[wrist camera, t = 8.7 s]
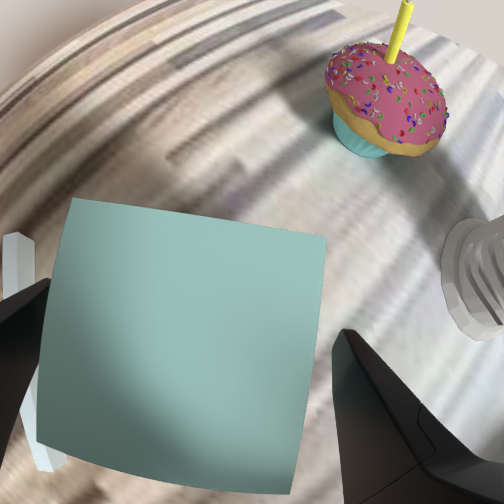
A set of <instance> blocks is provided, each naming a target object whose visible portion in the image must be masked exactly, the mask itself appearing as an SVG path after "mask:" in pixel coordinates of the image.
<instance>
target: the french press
mask: <svg viewBox="0 0 504 504" xmlns="http://www.w3.org/2000/svg"><path fill="white" fill-rule="evenodd" d="M441 285H442V288H443V292H444V296H445V300H446V303H447V307H448V311H449V313H450V314H451V316H452V317H453V319H454V321H455V322H456V324H457V326H458V327H459V329H460V331H462V332H463V333H465V334H466V335H468V336H469V337H471V338H472V339H473V340H475V341H491V340H493V339H494V338H495V337H497V336H498V335H499V334H501V333H502V332H504V215H502V216H500V217H498V218H496V219H494V220H492V221H490V222H487V221H484V220H481V219H477V218H474V217H471V218H468V219H465V220H462V221H459V222H458V223H457V224H456V225H455V227H454V228H453V229H452V230H451V232H450V233H449V234H448V235H447V239H446V242H445V246H444V249H443V253H442V256H441Z"/></svg>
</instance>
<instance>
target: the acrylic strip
mask: <svg viewBox="0 0 504 504" xmlns="http://www.w3.org/2000/svg"><path fill="white" fill-rule="evenodd" d="M2 270H3V300H4V299H6V298H8V297H10V296H11V295H13V294H15V293H17V292H19V291H21V290H23V289H25V288H27V287H29V286H31V285H33V284H35V283H36V280H35V242H34V241H33V240H31V239H29V238H27V237H26V236H24V235H22V234H21V233H19V232H14V233H10V234H6V235H3V260H2ZM38 369H39V364H38V366H37V368H36V371H35V373H34V375H33V378H32V380H31V382H30V385H29V387H28V390H27V392H26V395H25V397H24V400H23V402H22V405H21V408H20V414H21V417H22V421H23V425H24V429H25V432H26V436H27V439H28V442H29V446H30V449H31V452H32V455H33V458H34V461H35V464H36V467H37V469H38V470H39V471H47V472H55V471H56V470H57V469H58V468H60V467H61V466H62V465H63V464H65V463H66V462H67V461H68V458H67V455H66V454H65V453H62V452H60V451H57V450H55V449H52V448H50V447H48V446H45V445H43V444H40V443H38V442H36V404H37V383H38Z"/></svg>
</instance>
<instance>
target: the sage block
mask: <svg viewBox="0 0 504 504" xmlns="http://www.w3.org/2000/svg"><path fill="white" fill-rule="evenodd" d="M326 238H327V237H323V236H317V235H311V234H306V233H300V232H295V231H289V230H283V229H277V228H271V227H266V226H260V225H254V224H248V223H242V222H236V221H229V220H223V219H217V218H211V217H204V216H198V215H192V214H185V213H179V212H172V211H165V210H159V209H152V208H145V207H138V206H131V205H124V204H117V203H110V202H102V201H95V200H87V199H80V198H73V199H72V202H71V205H70V208H69V212H68V215H67V218H66V222H65V225H64V229H63V233H62V236H61V240H60V244H59V248H58V252H57V256H56V261H55V265H54V269H53V274H52V279H51V284H50V289H49V294H48V300H47V305H46V311H45V318H44V325H43V332H42V340H41V348H40V358H39V369H38V383H37V404H36V442H38V443H40V444H43V445H45V446H48V447H50V448H52V449H55V450H57V451H60V452H62V453H65V454H68V455H70V456H73V457H76V458H79V459H82V460H85V461H87V462H90V463H94V464H97V465H100V466H103V467H106V468H110V469H113V470H117V471H120V472H124V473H128V474H132V475H136V476H140V477H144V478H148V479H153V480H157V481H162V482H167V483H172V484H178V485H184V486H190V487H196V488H203V489H211V490H219V491H229V492H240V493H255V494H290V490H291V486H292V481H293V476H294V471H295V467H296V462H297V457H298V452H299V446H300V441H301V436H302V430H303V424H304V419H305V413H306V407H307V401H308V395H309V388H310V382H311V375H312V368H313V361H314V354H315V346H316V338H317V330H318V322H319V313H320V304H321V295H322V285H323V274H324V263H325V251H326Z"/></svg>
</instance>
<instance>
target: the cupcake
mask: <svg viewBox="0 0 504 504" xmlns="http://www.w3.org/2000/svg"><path fill="white" fill-rule="evenodd" d="M413 8H414V4H413V3H411V2H410V0H403V1H402V4H401V7H400V10H399V13H398V17H397V20H396V23H395V26H394V30H393V33H392V36H391V39H390V42H389V45H385V44H384V43H382V45H381V44H375V43H369V42H368V41H367V43H362V42H360V43H359V44H355V45H351V46H350V47H349V46H348V45H347V46H345V47H344V49H342V50H341V51H339V52H338V53H335V54H333V55H332V56H333V58H332V59H331V61H330V62H329V64H328V66H327V68H326V72H325V78H326V79H325V86H326V88H327V90H328V94H329V98H330V101H331V104H332V107H333V110H334V115H333V127H334V130H335V133H336V135H337V137H338V138H339V140H340V141H341V142H342V143H343V144H344V145H345V146H346V147H347V148H348V149H349V150H351V151H352V152H354V153H356V154H358V155H360V156H363V157H367V158H379V157H382V156H384V155H386V154H389V153H391V154H398V155H406V156H413V157H416V156H420V155H422V154H424V153H425V152H427V151H428V150H430V149H432V148H433V147H435V146H436V145H437V143H438V142H439V140H440V138H441V137H442V135H443V132H444V131H445V129H446V120H447V118H448V117H449V113H447V107H446V105H445V104H446V103H445V99H444V95H443V94H442V93H443V90H442V89H441V88H439V86H438V84H437V83H436V81H435V80H436V79H435V78H434V77H432V76H431V75H432V74H431V73H430V72H428V71H427V70H426V69H425V68H424V67H423V66H422V65H421V64H420V63H419V62H418V61H417V60H416V59H415V57H413V56H410V55H408V54H406V53H405V52H402V50H400V46H401V43H402V40H403V37H404V35H405V32H406V29H407V26H408V23H409V20H410V17H411V14H412V11H413ZM361 43H362V44H361ZM441 90H442V91H441ZM447 114H448V115H447Z"/></svg>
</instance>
